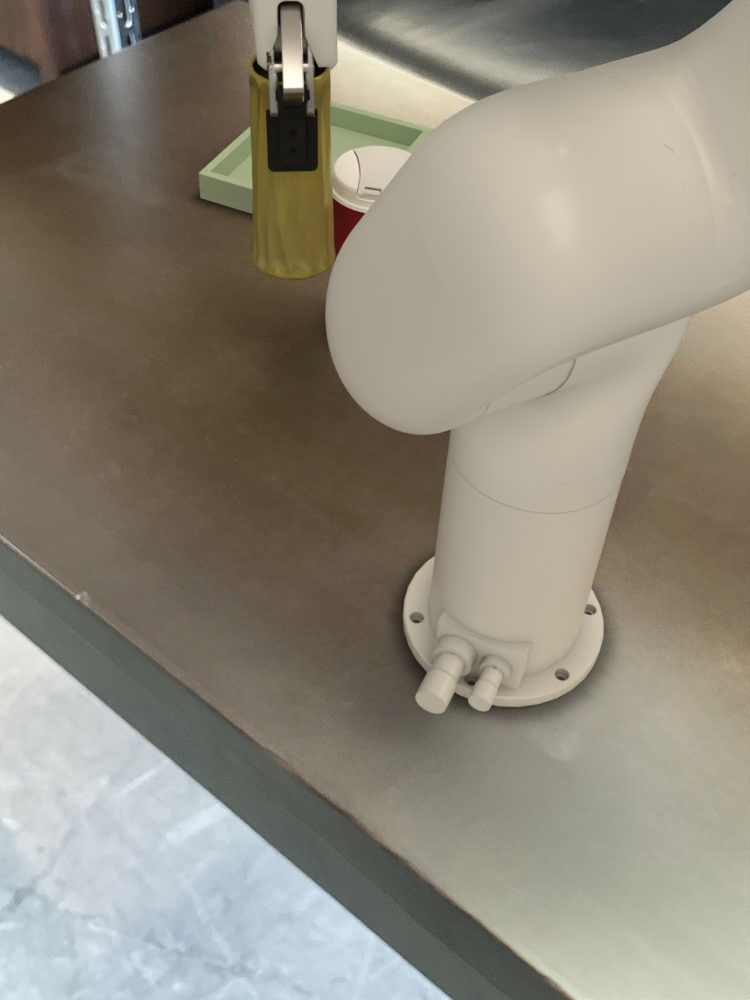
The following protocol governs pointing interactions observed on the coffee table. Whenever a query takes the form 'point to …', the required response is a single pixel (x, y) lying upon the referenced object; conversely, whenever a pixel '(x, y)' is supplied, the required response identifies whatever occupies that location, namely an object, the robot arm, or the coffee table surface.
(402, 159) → the paper cup
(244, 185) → the tray
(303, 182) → the vase
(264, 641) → the coffee table surface
